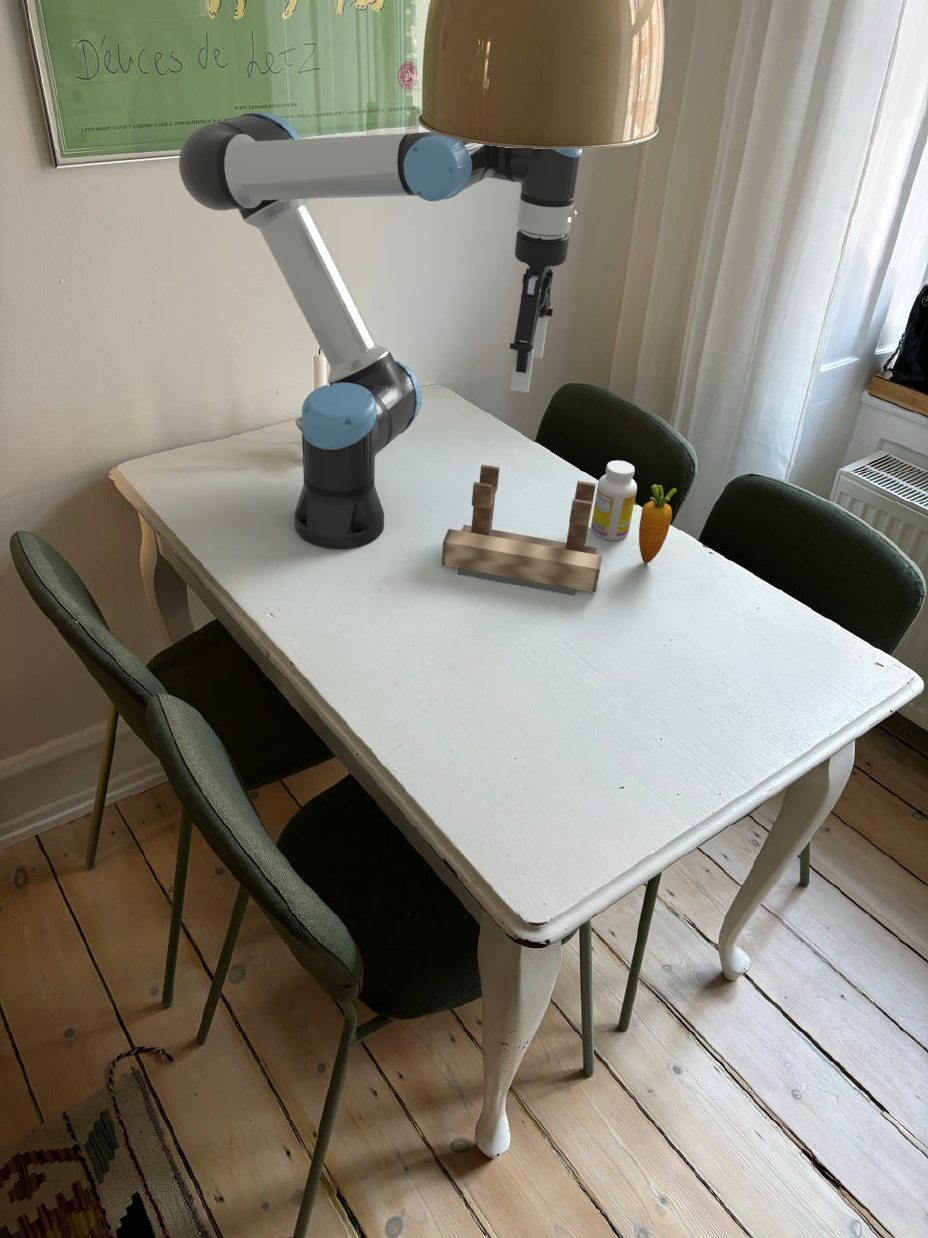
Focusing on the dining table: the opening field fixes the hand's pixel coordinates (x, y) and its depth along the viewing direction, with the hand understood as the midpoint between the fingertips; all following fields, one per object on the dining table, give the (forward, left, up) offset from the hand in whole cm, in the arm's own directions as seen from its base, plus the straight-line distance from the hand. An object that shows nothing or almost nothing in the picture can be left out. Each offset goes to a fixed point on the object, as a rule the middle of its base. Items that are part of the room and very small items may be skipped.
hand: (526, 372), depth 151 cm
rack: (+4, -5, -29) cm, 29 cm away
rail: (+4, -13, -28) cm, 31 cm away
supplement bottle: (+17, +5, -29) cm, 34 cm away
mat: (+4, -13, -29) cm, 32 cm away
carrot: (+24, -3, -29) cm, 38 cm away
